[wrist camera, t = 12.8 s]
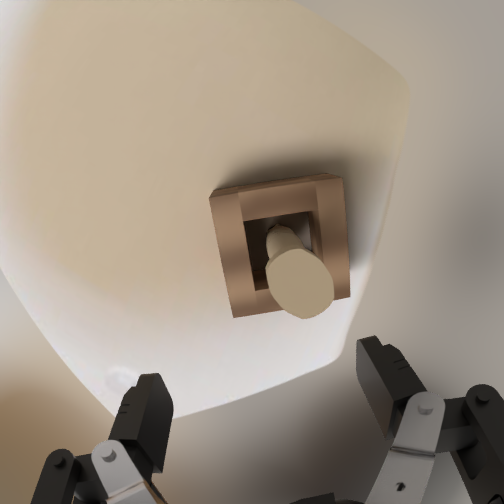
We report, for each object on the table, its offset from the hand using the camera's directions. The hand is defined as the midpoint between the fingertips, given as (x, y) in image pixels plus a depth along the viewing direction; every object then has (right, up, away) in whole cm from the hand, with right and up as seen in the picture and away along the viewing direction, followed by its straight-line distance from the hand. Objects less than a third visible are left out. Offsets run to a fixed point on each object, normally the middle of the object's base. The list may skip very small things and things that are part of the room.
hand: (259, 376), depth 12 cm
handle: (+3, +7, +28) cm, 29 cm away
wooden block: (+3, +7, +28) cm, 29 cm away
